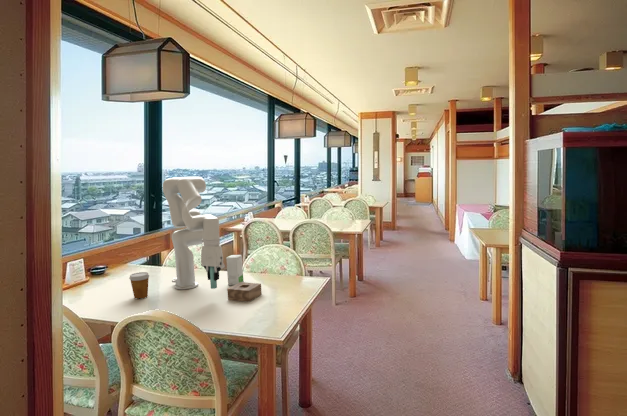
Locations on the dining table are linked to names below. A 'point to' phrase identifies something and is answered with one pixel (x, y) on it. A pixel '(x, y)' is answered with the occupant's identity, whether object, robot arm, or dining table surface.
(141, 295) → the disposable coffee cup
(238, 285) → the socket block
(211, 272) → the peg
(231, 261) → the skincare box
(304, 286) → the dining table surface
